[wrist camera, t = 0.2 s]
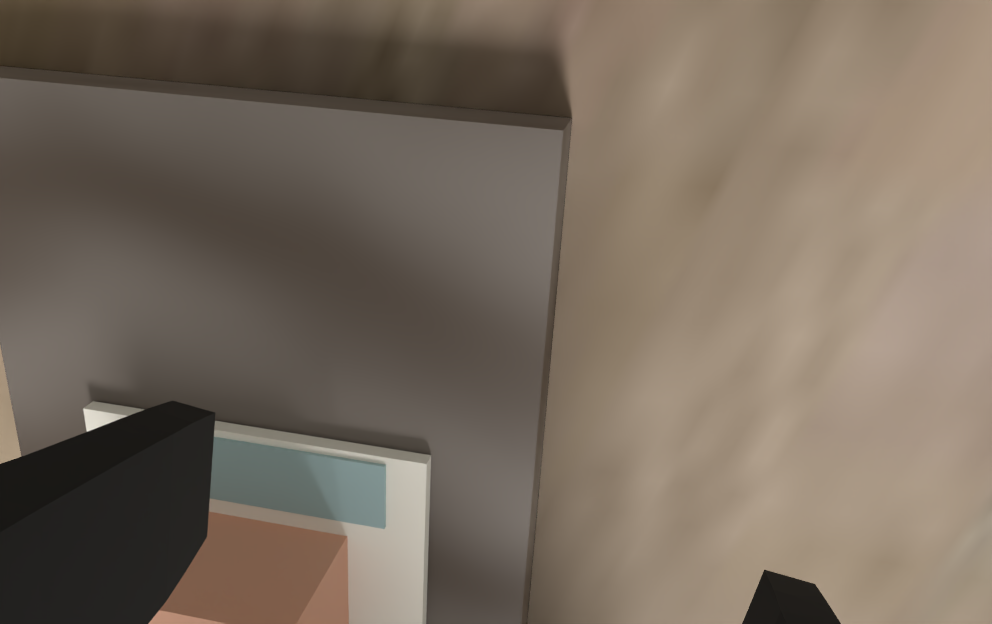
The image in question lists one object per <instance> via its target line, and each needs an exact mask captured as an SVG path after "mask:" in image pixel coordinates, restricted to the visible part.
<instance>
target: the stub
mask: <svg viewBox="0 0 992 624" xmlns="http://www.w3.org/2000/svg"><path fill="white" fill-rule="evenodd" d="M143 410H145V409H139V408H133V407H127V406H120V405H114V404H108V403H102V402H95V401H93V402H91V403H90V404H89V405H87V406H86V407H85V408H83V411H84V417H85V424H86V430H87V432H88V431H90V430H93V429H95V428H98V427H101V426H103V425H106V424H108V423H111V422H114V421H116V420H119V419H121V418H124V417H127V416H129V415H132V414H134V413H137V412H140V411H143ZM430 479H431V455H427V454H420V453H414V452H408V451H402V450H395V449H389V448H383V447H377V446H370V445H364V444H358V443H352V442H345V441H339V440H333V439H327V438H320V437H314V436H308V435H302V434H295V433H289V432H283V431H277V430H270V429H264V428H258V427H252V426H245V425H239V424H233V423H227V422H220V421H215V427H214V442H213V457H212V472H211V487H210V502H209V516H208V531H207V538H206V540H205V541H204V543H203V544H202V546H201V548H200V549H199V551H198V553H197V554H196V556H195V557H194V559H193V561H192V562H191V564H190V566H189V567H188V569H187V570H186V572H185V574H184V575H183V577H182V578H181V580H180V581H179V583H178V584H177V586H176V587H175V589H174V590H173V592H172V593H171V595H170V596H169V598H168V600H167V601H166V602H165V604H164V605H163V606H162V607H161V609H160V610H159V611H158V612H157V614H156V615H155V616H154V617H153V619H152V620H151V621H150V622H149V623H148V624H426V613H427V580H428V546H429V513H430Z"/></svg>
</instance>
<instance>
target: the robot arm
mask: <svg viewBox="0 0 992 624" xmlns="http://www.w3.org/2000/svg"><path fill="white" fill-rule="evenodd" d="M214 427H215V412H211V411H208V410H204V409H201V408H197V407H194V406H190V405H187V404H183V403H180V402H177V401H169V402H166V403H163V404H160V405H157V406H154V407H151V408H148V409H145V410H143V411H140V412H137V413H134V414H132V415H129V416H127V417H124V418H121V419H119V420H116V421H114V422H111V423H108V424H106V425H103V426H101V427H98V428H95V429H93V430H90V431H88V432H85V433H83V434H80V435H77V436H75V437H72V438H69V439H67V440H64V441H62V442H59V443H56V444H54V445H51V446H48V447H46V448H43V449H40V450H38V451H35V452H33V453H30V454H27V455H25V456H22V457H19V458H17V459H14V460H11V461H8V462H5V463H2V464H0V624H148V623H149V622H150V621H151V620H152V619H153V617H154V616H155V615H156V614H157V612H158V611H159V610H160V609H161V607H162V606H163V605H164V604H165V602H166V601H167V600H168V598H169V596H170V595H171V593H172V592H173V590H174V589H175V587H176V586H177V584H178V583H179V581H180V580H181V578H182V577H183V575H184V574H185V572H186V570H187V569H188V567H189V566H190V564H191V562H192V561H193V559H194V557H195V556H196V554H197V553H198V551H199V549H200V548H201V546H202V544H203V543H204V541H205V540H206V538H207V531H208V516H209V502H210V487H211V472H212V457H213V442H214ZM742 624H841V623H840V622H839V620H838V619H837V617H836V615H835V614H834V612H833V611H832V609H831V608H830V606H829V605H828V603H827V601H826V600H825V598H824V597H823V595H822V594H821V592H820V591H819V589H818V588H817V587H816V585H815V584H812V583H809V582H805V581H802V580H798V579H795V578H791V577H788V576H784V575H781V574H777V573H774V572H771V571H767V570H764V572H763V575H762V577H761V579H760V582H759V584H758V587H757V589H756V592H755V594H754V597H753V599H752V601H751V604H750V606H749V609H748V611H747V614H746V616H745V619H744V621H743V623H742Z"/></svg>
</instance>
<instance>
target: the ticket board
mask: <svg viewBox="0 0 992 624" xmlns="http://www.w3.org/2000/svg"><path fill="white" fill-rule="evenodd" d="M571 125H572V118H566V117H555V116H544V115H533V114H522V113H511V112H500V111H489V110H478V109H467V108H456V107H445V106H434V105H423V104H412V103H401V102H390V101H379V100H368V99H357V98H346V97H335V96H324V95H313V94H302V93H291V92H281V91H270V90H259V89H248V88H237V87H226V86H215V85H204V84H193V83H182V82H171V81H160V80H149V79H138V78H127V77H116V76H105V75H94V74H83V73H72V72H61V71H50V70H39V69H28V68H17V67H6V66H0V345H1V350H2V356H3V361H4V366H5V372H6V377H7V382H8V387H9V393H10V398H11V403H12V409H13V414H14V419H15V424H16V430H17V435H18V440H19V446H20V451H21V456H25V455H27V454H30V453H33V452H35V451H38V450H40V449H43V448H46V447H48V446H51V445H54V444H56V443H59V442H62V441H64V440H67V439H69V438H72V437H75V436H77V435H80V434H83V433H85V432H87V430H86V424H85V417H84V411H83V408H85V407H86V406H87V405H89V404H90V403H91V402H93V401H95V402H102V403H108V404H114V405H120V406H127V407H133V408H139V409H148V408H151V407H154V406H157V405H160V404H163V403H166V402H169V401H177V402H180V403H183V404H187V405H190V406H194V407H197V408H201V409H204V410H208V411H211V412H215V421H220V422H227V423H233V424H239V425H245V426H252V427H258V428H264V429H270V430H277V431H283V432H289V433H295V434H302V435H308V436H314V437H320V438H327V439H333V440H339V441H345V442H352V443H358V444H364V445H370V446H377V447H383V448H389V449H395V450H402V451H408V452H414V453H420V454H427V455H431V479H430V513H429V546H428V580H427V613H426V624H527V619H528V608H529V597H530V585H531V574H532V563H533V552H534V540H535V529H536V518H537V507H538V496H539V484H540V473H541V462H542V451H543V439H544V428H545V417H546V406H547V395H548V383H549V372H550V361H551V350H552V338H553V327H554V316H555V305H556V294H557V282H558V271H559V260H560V249H561V237H562V226H563V215H564V204H565V193H566V181H567V170H568V159H569V148H570V136H571Z"/></svg>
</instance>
